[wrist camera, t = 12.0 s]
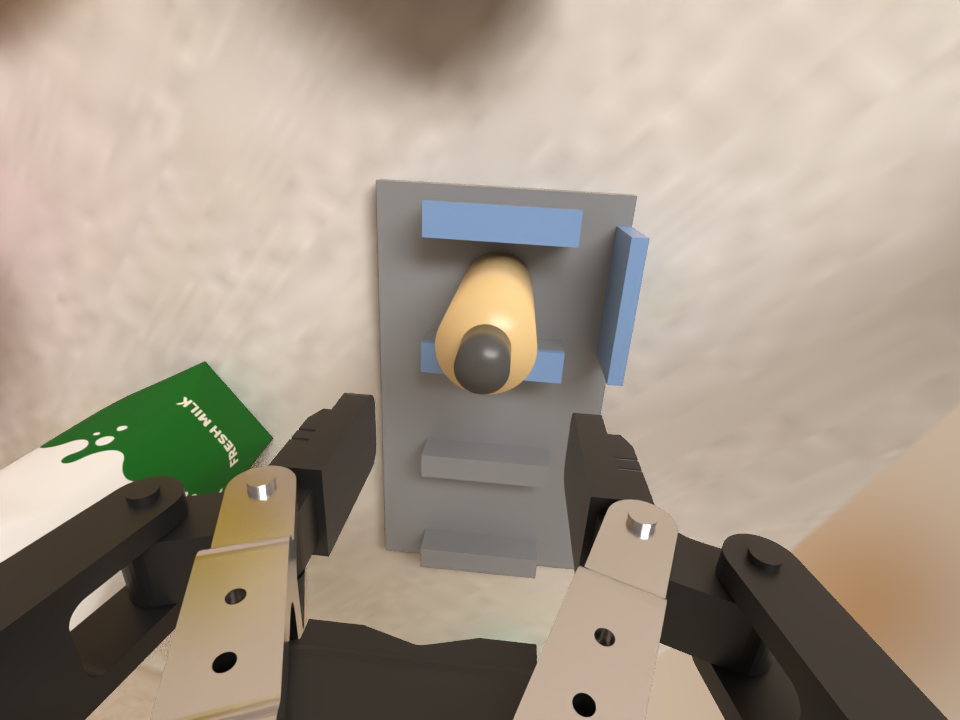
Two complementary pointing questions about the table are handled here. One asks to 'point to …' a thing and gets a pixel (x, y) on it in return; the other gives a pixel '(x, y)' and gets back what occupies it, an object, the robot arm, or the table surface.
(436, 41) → the table surface
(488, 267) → the yellow bottle
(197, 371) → the milk carton
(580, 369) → the slotted grey board
